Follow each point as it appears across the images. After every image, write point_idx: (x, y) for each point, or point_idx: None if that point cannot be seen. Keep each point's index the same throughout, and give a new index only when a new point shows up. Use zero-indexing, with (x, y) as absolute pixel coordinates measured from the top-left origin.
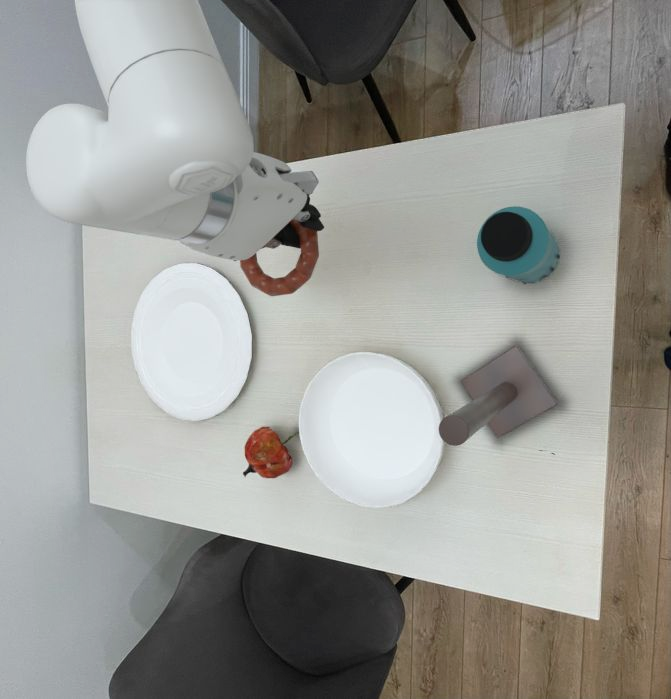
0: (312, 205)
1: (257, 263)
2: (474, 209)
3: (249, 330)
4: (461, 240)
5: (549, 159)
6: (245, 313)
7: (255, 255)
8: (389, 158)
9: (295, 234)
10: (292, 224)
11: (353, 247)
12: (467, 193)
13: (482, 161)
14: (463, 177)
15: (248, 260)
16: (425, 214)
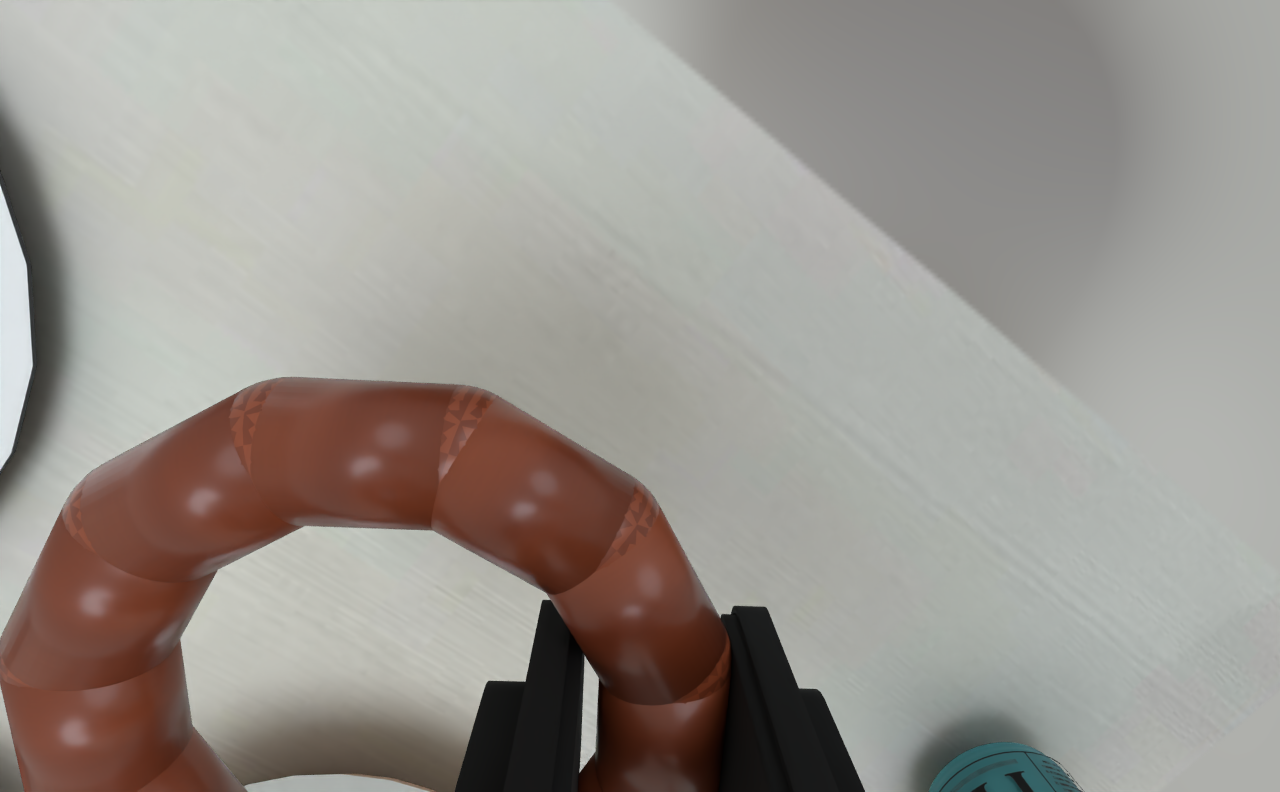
0: (826, 708)
1: (173, 676)
2: (966, 594)
3: (8, 431)
4: (880, 636)
5: (1180, 617)
6: (21, 360)
7: (187, 621)
8: (903, 283)
9: (579, 741)
10: (615, 712)
11: (603, 434)
12: (986, 547)
13: (1078, 506)
14: (1012, 504)
15: (97, 681)
16: (858, 513)
